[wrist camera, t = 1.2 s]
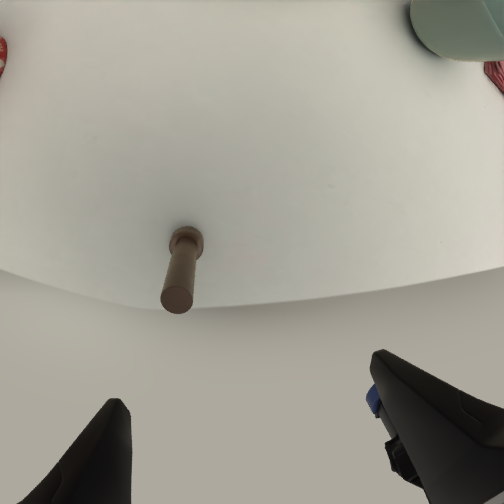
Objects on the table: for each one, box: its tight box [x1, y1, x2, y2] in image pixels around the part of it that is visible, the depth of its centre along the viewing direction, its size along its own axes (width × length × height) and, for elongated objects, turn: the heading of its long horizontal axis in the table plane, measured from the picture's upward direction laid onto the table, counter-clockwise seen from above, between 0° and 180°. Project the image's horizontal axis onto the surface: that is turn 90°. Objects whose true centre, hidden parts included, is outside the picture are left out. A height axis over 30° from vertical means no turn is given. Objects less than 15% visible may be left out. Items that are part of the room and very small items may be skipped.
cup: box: [410, 0, 504, 62], centre depth 11 cm, size 8×8×10 cm
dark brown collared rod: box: [160, 226, 203, 314], centre depth 17 cm, size 2×2×8 cm
